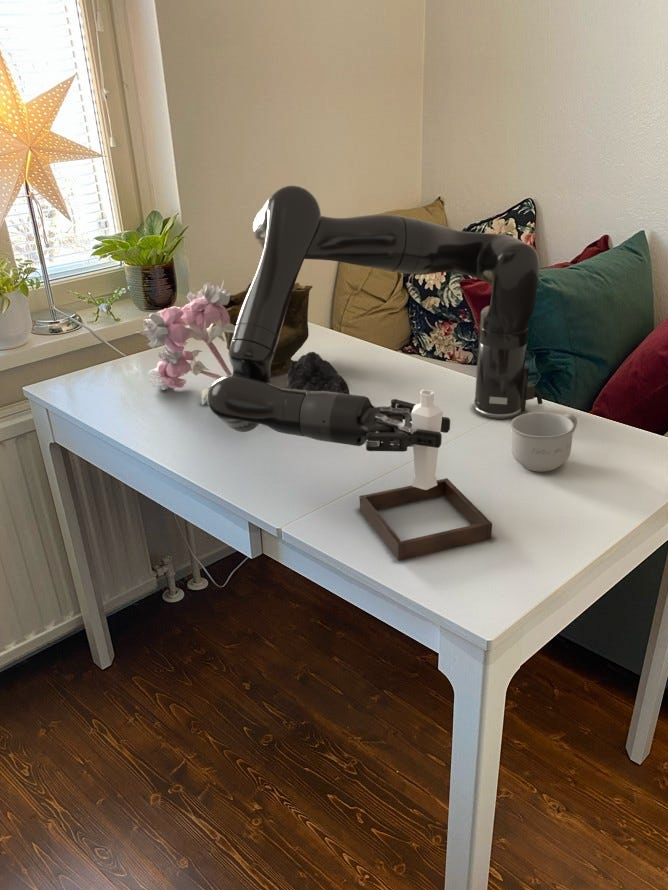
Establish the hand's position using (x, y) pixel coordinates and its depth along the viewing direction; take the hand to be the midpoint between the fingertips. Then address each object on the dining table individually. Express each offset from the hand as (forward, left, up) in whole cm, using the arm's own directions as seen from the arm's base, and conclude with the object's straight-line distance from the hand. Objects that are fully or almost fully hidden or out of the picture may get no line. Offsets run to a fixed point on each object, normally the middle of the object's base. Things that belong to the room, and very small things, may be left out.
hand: (444, 432), depth 129 cm
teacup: (-27, -13, -16) cm, 34 cm away
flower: (+25, -68, -16) cm, 74 cm away
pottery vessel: (+6, -75, -16) cm, 77 cm away
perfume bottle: (+2, -2, -9) cm, 10 cm away
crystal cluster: (+2, -54, -16) cm, 56 cm away
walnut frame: (+2, -2, -16) cm, 17 cm away
